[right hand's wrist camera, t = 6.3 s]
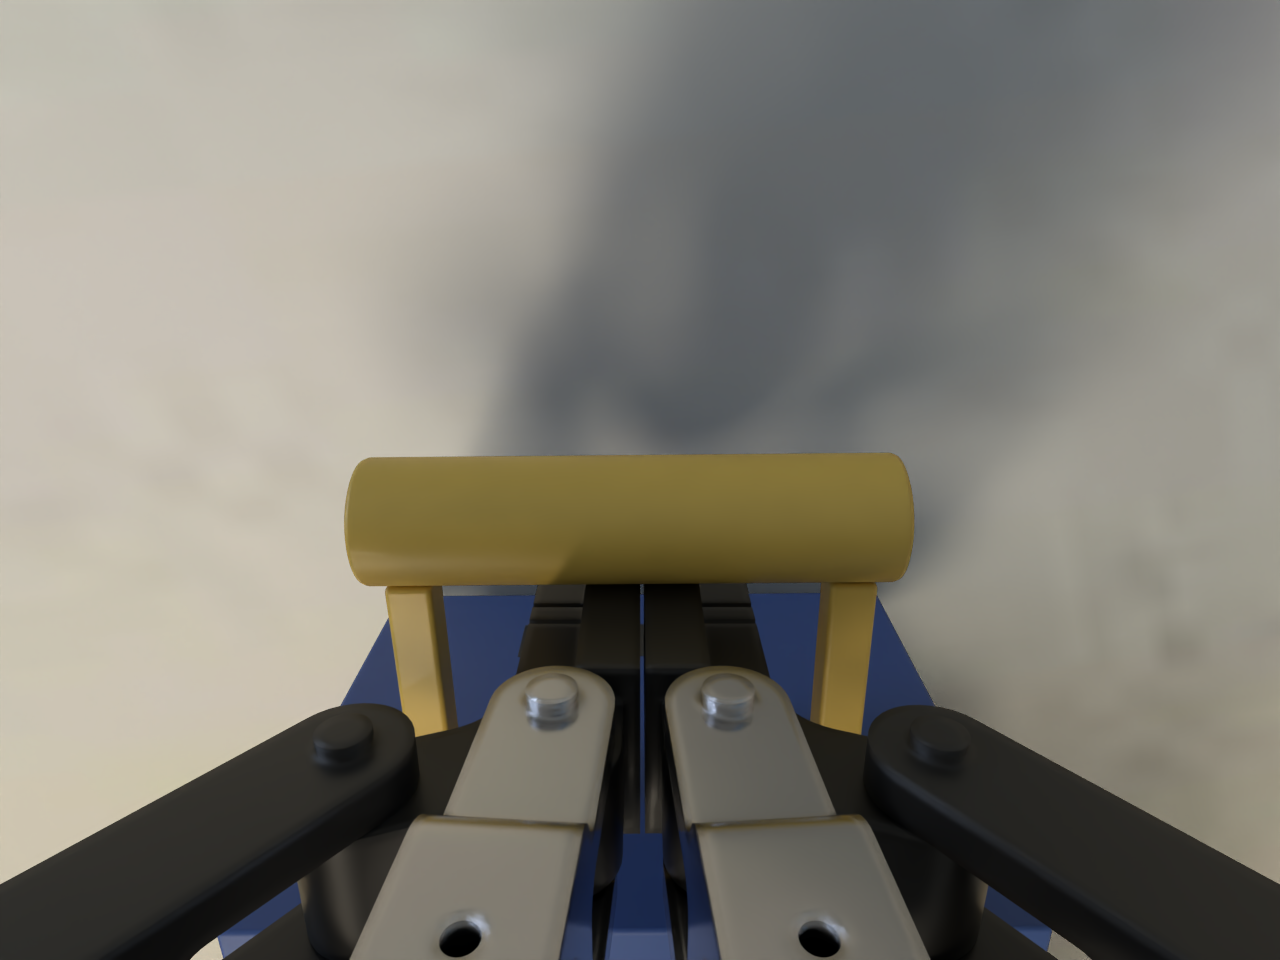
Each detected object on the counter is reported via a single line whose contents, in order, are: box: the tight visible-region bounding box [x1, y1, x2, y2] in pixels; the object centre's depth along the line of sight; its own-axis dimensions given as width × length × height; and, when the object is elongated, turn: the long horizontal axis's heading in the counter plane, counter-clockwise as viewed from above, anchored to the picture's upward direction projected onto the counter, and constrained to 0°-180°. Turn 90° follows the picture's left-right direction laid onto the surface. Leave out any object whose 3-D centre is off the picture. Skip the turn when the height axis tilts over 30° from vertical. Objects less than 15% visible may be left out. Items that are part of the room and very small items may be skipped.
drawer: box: [218, 453, 1052, 960], centre depth 15 cm, size 19×10×8 cm, turn 1°
